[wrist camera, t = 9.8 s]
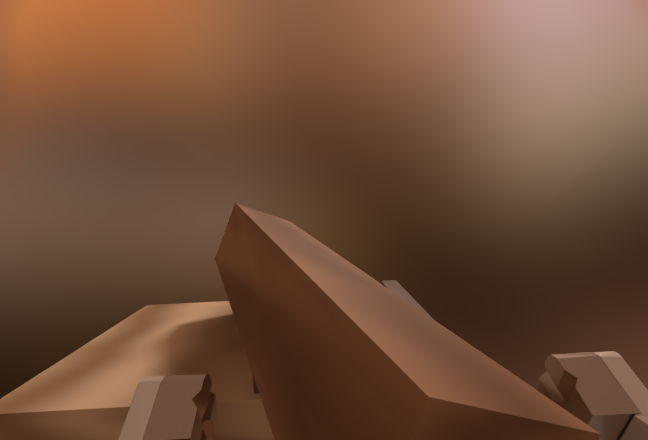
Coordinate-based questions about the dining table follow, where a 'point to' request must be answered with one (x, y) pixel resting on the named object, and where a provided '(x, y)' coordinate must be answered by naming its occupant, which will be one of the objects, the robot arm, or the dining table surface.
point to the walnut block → (363, 351)
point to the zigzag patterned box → (144, 360)
